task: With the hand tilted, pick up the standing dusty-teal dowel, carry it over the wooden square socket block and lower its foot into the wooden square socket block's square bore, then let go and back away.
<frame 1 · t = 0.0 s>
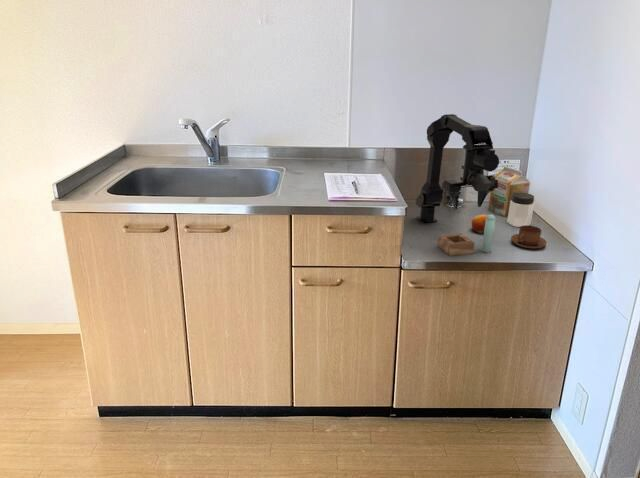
hand: (467, 207, 173), 15 cm above the countertop, tool pointing down, fingers open, 9 cm apart
cup and saucer: (527, 245, 181), on the countertop
wooden square socket block: (455, 249, 176), on the countertop
dowel: (486, 250, 175), on the countertop
fruit: (481, 231, 193), on the countertop
jar: (518, 224, 200), on the countertop
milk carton: (506, 212, 213), on the countertop
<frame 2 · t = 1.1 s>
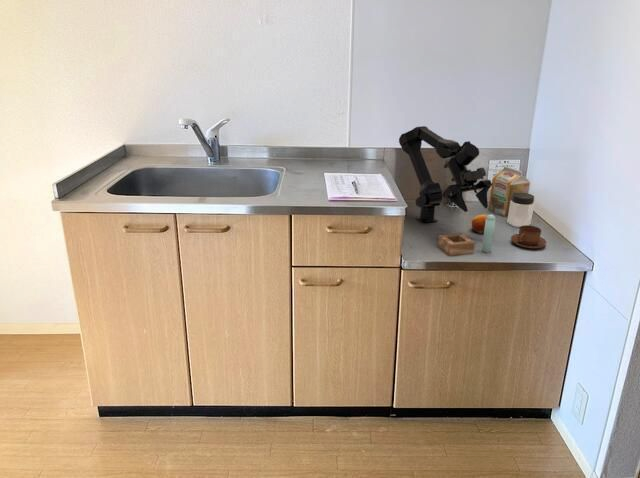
hand: (476, 209, 176), 13 cm above the countertop, tool tilted 45°, fingers open, 9 cm apart
nothing on the countertop moved.
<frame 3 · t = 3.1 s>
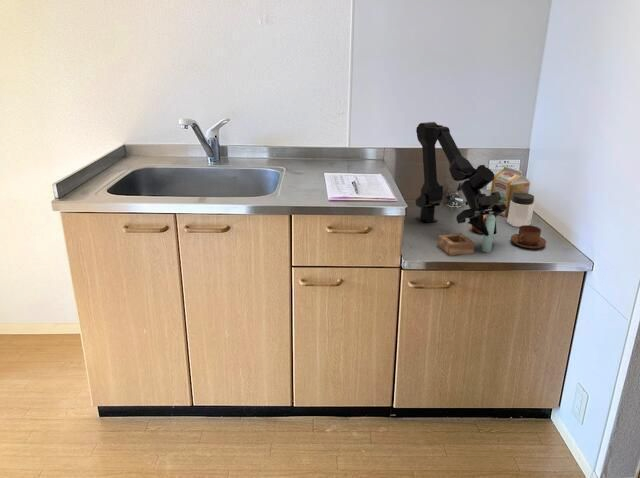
hand: (491, 234, 171), 7 cm above the countertop, tool tilted 45°, fingers closed on dowel, 3 cm apart
dowel: (486, 250, 175), on the countertop, touching gripper
everything else where it was.
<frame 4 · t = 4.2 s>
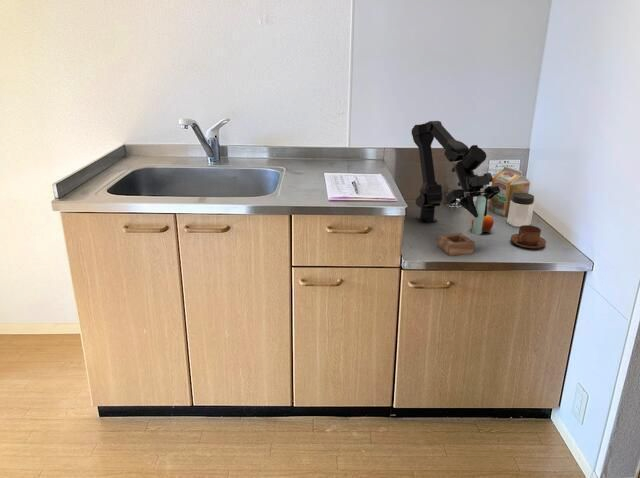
hand: (481, 216, 169), 13 cm above the countertop, tool tilted 45°, fingers closed on dowel, 3 cm apart
dowel: (476, 232, 173), point 7 cm above the countertop, touching gripper
everything else where it was.
when the fingers open (9 cm above the countertop, at t = 5.7 s): dowel drops 3 cm, resting in wooden square socket block.
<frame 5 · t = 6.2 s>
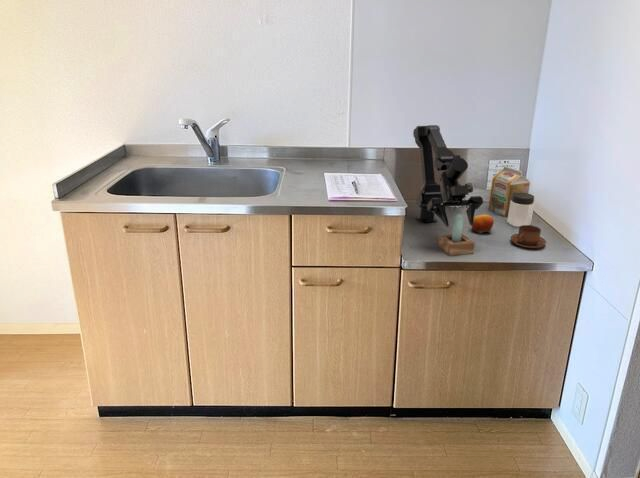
hand: (459, 225, 171), 10 cm above the countertop, tool tilted 45°, fingers open, 8 cm apart
dowel: (455, 249, 176), resting in wooden square socket block
everything else where it was.
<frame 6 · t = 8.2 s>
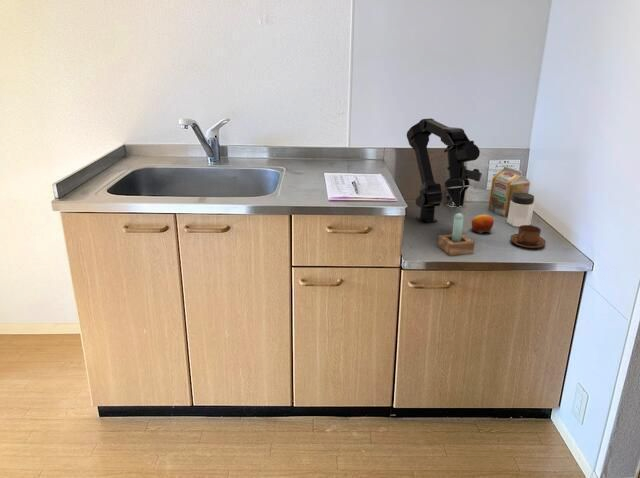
hand: (459, 206, 180), 13 cm above the countertop, tool tilted 20°, fingers open, 9 cm apart
nothing on the countertop moved.
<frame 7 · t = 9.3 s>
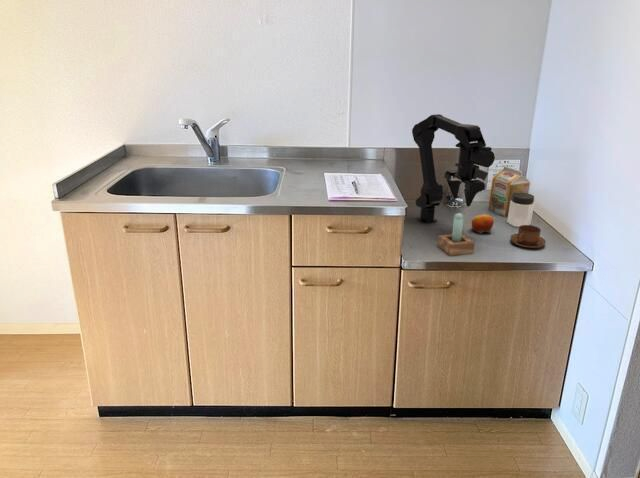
hand: (461, 202, 184), 13 cm above the countertop, tool pointing down, fingers open, 9 cm apart
nothing on the countertop moved.
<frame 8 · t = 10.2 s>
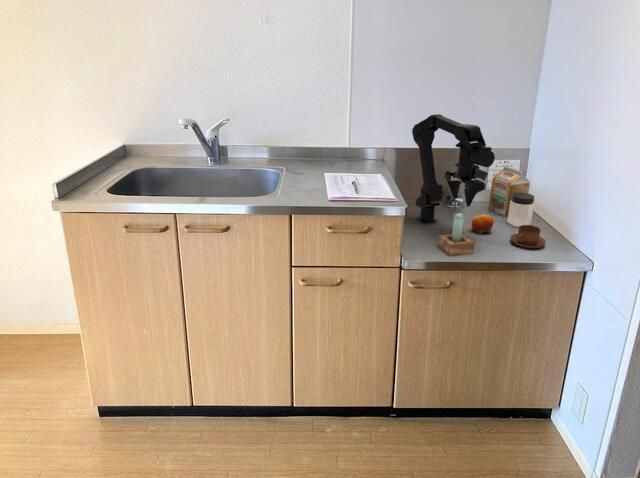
hand: (461, 202, 184), 13 cm above the countertop, tool pointing down, fingers open, 9 cm apart
nothing on the countertop moved.
at the end: dowel 0.0 cm off-centre on the wooden square socket block, point 0.0 cm above the wooden square socket block's base; dowel tilted 0°; the gripper is holding nothing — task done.
